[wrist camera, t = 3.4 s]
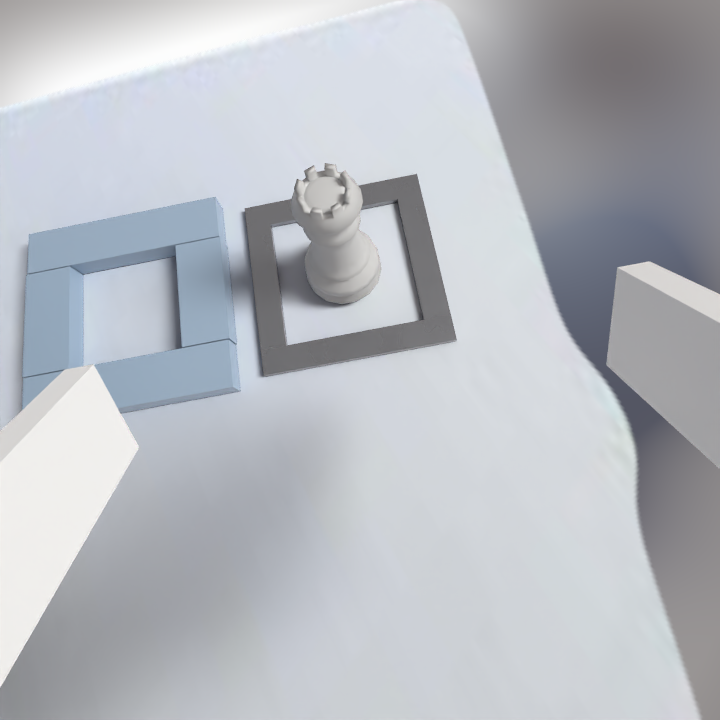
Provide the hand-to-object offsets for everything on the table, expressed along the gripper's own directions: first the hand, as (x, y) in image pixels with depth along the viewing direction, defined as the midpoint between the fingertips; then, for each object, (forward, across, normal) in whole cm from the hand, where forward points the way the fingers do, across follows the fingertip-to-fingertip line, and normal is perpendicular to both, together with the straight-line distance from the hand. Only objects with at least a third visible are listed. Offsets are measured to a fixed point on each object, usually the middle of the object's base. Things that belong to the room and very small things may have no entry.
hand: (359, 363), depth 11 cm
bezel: (+16, 0, -3) cm, 16 cm away
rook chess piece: (+16, 0, -3) cm, 16 cm away
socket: (+16, -14, -3) cm, 21 cm away
